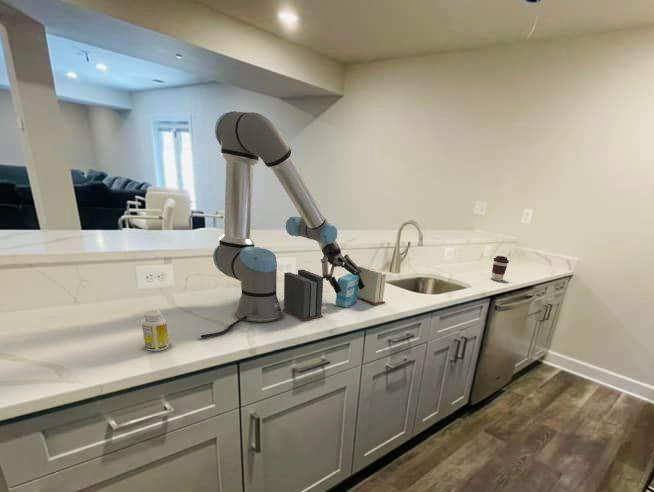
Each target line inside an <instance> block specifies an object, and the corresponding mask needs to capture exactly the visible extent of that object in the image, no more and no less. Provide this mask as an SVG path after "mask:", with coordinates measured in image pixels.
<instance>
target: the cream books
mask: <svg viewBox="0 0 654 492" xmlns="http://www.w3.org/2000/svg"><path fill="white" fill-rule="evenodd" d="M357 266H358V267H359V268H360V270H361V271H362V272H361V273H360V274H359V275H360V277H361V279H362V282H363V284H364V286H365V287H364V288H363V289H361V290H360V289H359V287H358V293H357V300H359V301H362V302H364V303H368V304H370V305H372V306H378V305H382V304H385V303H386V302H385V300H384V294H385V287H386V278H387V273H386V272H383V271H379V270H377V269H373V268H370V267H367V266H365V265H357Z"/></svg>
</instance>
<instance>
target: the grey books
mask: <svg viewBox="0 0 654 492" xmlns="http://www.w3.org/2000/svg"><path fill="white" fill-rule="evenodd" d="M283 278H284V279H283V308H282V310H283V311H284V312H286V313H288V314H290V315H292V316H293V317H296V318H298V319H299V320H302V321H304V322H305V321H309V320H314V319H319V318H322V317H323V314H322V312H323V311H322V310H323V295H324V293H323V291H324V279H323V275H319V274H317V273H315V272H314V273H313V272H311V271H309V270H306V269H304V268H303V269H297V273H296V274H295V273H292V272H291V271H289V272H284V274H283Z"/></svg>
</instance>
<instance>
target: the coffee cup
mask: <svg viewBox="0 0 654 492" xmlns="http://www.w3.org/2000/svg"><path fill="white" fill-rule="evenodd" d="M509 263H510V260H509V259H508V257H506V256H503V255H496V256H495V257H493V264H492V269H491V280H494V281H499V282H501V281H503V278H504V276H505V273H506V271H507V268H508V264H509Z"/></svg>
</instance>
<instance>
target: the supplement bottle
mask: <svg viewBox="0 0 654 492" xmlns="http://www.w3.org/2000/svg"><path fill="white" fill-rule="evenodd" d="M143 316H144V317H143V318H144V319H142V320H141V327H142V334H143V341H144V347H145V349H146V350H147V351H151V352H160V351H164V350H167V349H168V348H169V347H170V343H169V335H168V327H167V320H166V319H165V318H164V317H163V314H162V312H161V311H159V310H148V311H145V312H144V313H143Z"/></svg>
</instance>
